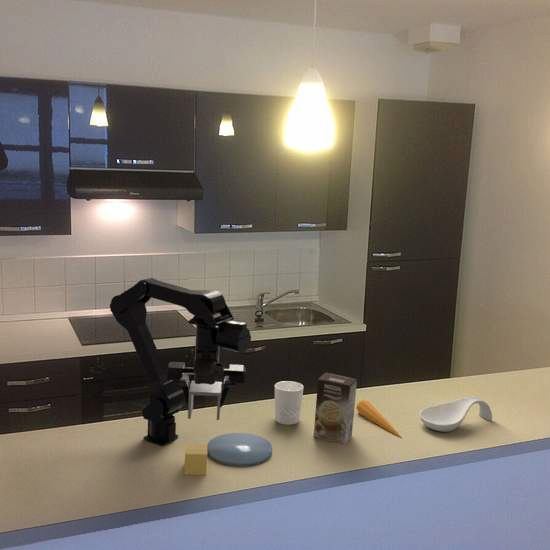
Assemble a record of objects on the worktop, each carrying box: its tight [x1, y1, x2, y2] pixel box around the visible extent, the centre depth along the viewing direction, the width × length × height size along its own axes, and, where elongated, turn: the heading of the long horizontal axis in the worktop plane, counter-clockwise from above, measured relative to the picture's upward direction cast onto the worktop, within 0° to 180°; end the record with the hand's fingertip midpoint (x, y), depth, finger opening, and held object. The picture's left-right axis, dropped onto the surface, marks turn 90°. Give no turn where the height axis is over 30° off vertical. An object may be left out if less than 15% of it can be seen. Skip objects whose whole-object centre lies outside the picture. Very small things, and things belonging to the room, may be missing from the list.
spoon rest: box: [418, 396, 493, 433], centre depth 191 cm, size 24×12×7 cm, turn 120°
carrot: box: [355, 399, 403, 439], centre depth 188 cm, size 20×4×4 cm, turn 27°
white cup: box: [274, 380, 304, 426], centre depth 187 cm, size 8×8×10 cm
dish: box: [206, 432, 273, 467], centre depth 167 cm, size 16×16×1 cm
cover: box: [187, 380, 223, 421], centre depth 163 cm, size 7×7×7 cm
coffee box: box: [313, 372, 358, 445], centre depth 177 cm, size 9×6×16 cm
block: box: [183, 444, 208, 475], centre depth 157 cm, size 5×5×5 cm
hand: (204, 406), depth 164 cm, fingers closed on cover, 7 cm apart
